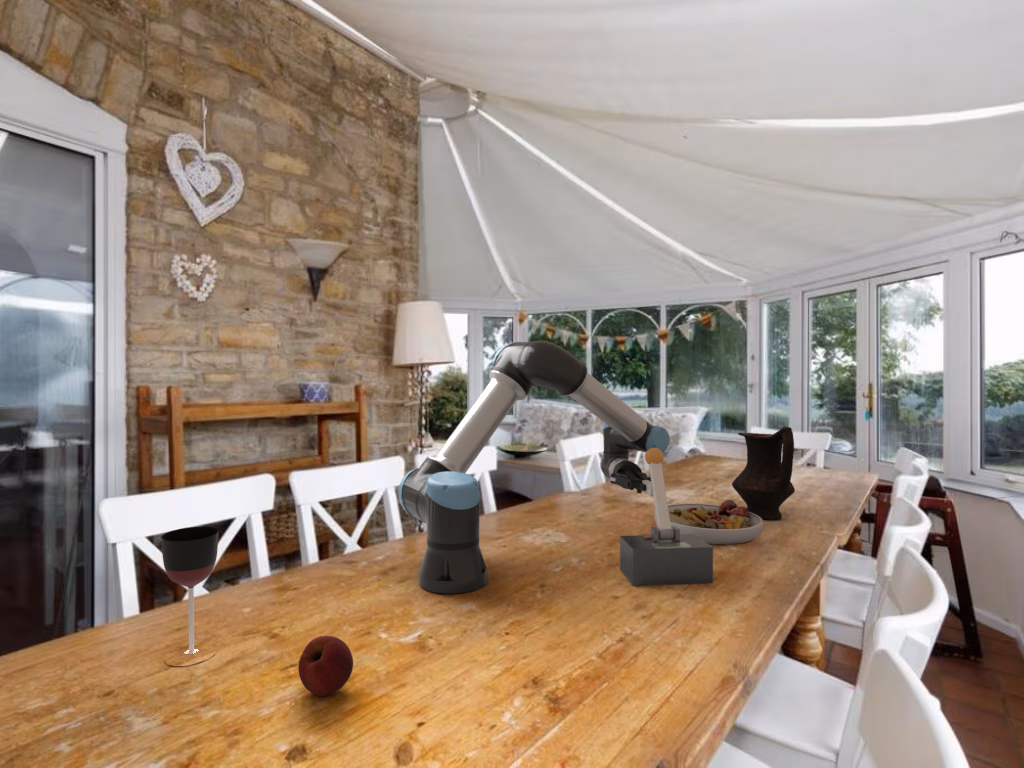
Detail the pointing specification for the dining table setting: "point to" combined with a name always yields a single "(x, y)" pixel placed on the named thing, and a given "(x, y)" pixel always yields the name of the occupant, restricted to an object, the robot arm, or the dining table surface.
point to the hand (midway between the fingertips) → (653, 490)
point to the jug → (767, 472)
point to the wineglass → (190, 562)
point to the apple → (325, 665)
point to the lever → (659, 493)
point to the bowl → (715, 522)
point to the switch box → (666, 559)
